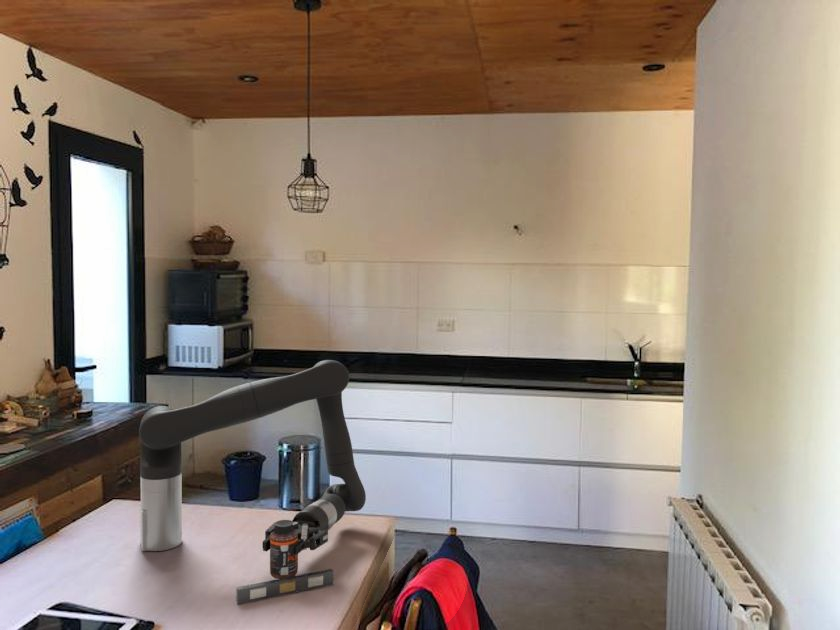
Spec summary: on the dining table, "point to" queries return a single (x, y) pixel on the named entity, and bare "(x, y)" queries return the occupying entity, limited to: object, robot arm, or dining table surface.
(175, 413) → the robot arm
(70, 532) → the dining table surface
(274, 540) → the supplement bottle
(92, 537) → the dining table surface
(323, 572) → the rail
